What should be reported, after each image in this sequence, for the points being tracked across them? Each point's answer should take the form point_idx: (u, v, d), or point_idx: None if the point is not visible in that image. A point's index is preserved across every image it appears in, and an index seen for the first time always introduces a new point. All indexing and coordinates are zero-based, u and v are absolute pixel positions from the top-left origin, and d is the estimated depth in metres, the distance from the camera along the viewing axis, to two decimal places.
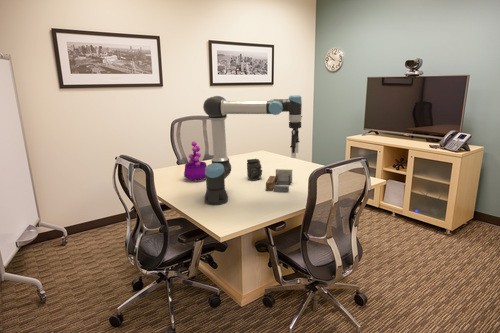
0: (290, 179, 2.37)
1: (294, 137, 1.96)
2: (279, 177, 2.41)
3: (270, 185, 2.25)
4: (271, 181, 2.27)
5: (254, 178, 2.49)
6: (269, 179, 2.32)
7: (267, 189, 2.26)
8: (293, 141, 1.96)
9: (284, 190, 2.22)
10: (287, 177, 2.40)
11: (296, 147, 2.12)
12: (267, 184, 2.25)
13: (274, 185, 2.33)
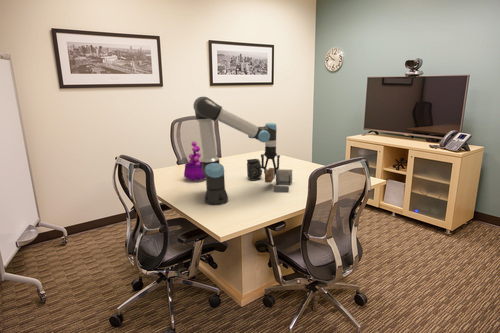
0: (290, 179, 2.37)
1: None
2: (279, 177, 2.41)
3: (269, 176, 2.23)
4: (270, 172, 2.25)
5: (254, 178, 2.49)
6: (268, 171, 2.30)
7: (266, 180, 2.24)
8: None
9: (284, 190, 2.22)
10: (287, 177, 2.40)
11: (273, 173, 2.30)
12: (266, 175, 2.23)
13: None
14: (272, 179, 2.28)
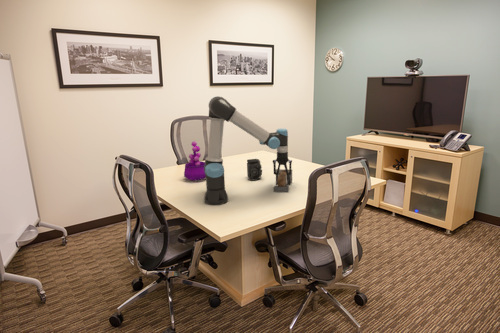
0: (290, 179, 2.37)
1: None
2: None
3: (282, 181, 2.22)
4: (283, 177, 2.25)
5: (254, 178, 2.49)
6: (280, 175, 2.29)
7: (279, 185, 2.24)
8: None
9: (284, 190, 2.22)
10: None
11: None
12: (279, 179, 2.23)
13: (285, 181, 2.31)
14: (285, 183, 2.27)
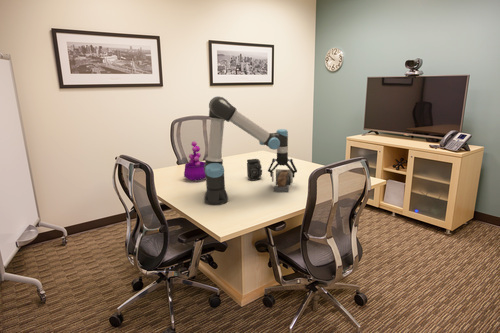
0: (290, 179, 2.37)
1: (271, 164, 2.28)
2: None
3: (282, 181, 2.22)
4: (283, 177, 2.25)
5: (254, 178, 2.49)
6: (280, 175, 2.29)
7: (279, 185, 2.24)
8: None
9: (284, 190, 2.22)
10: (287, 177, 2.40)
11: None
12: (279, 179, 2.23)
13: (285, 181, 2.31)
14: (285, 183, 2.27)
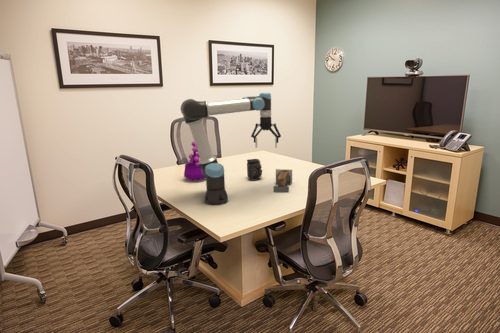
0: (290, 179, 2.37)
1: (254, 129, 2.24)
2: None
3: (282, 181, 2.22)
4: (283, 177, 2.25)
5: (254, 178, 2.49)
6: (280, 175, 2.29)
7: (279, 185, 2.24)
8: (253, 132, 2.25)
9: (284, 190, 2.22)
10: (287, 177, 2.40)
11: (275, 142, 2.23)
12: (279, 179, 2.23)
13: (285, 181, 2.31)
14: (285, 183, 2.27)
